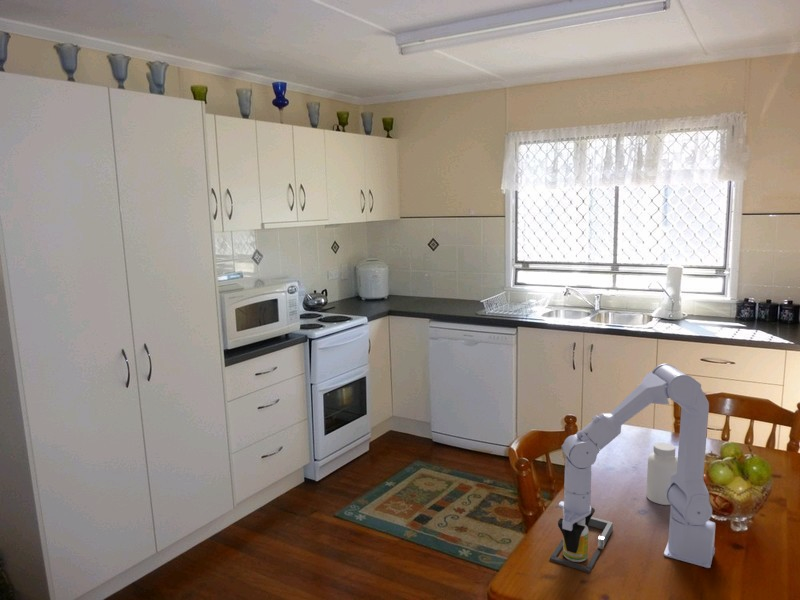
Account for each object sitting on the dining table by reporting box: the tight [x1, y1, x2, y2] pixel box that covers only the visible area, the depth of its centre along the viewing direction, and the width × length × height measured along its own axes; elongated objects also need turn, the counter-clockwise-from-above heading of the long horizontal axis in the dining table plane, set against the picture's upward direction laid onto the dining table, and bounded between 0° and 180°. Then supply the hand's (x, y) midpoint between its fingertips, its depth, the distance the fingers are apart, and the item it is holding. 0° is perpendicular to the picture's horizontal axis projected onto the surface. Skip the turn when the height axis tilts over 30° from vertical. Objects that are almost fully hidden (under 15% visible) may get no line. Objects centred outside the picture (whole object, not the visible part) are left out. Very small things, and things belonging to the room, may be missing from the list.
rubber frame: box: [549, 539, 601, 574], centre depth 137 cm, size 9×8×1 cm
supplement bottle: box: [562, 518, 589, 563], centre depth 137 cm, size 5×5×10 cm
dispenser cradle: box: [588, 516, 614, 550], centre depth 146 cm, size 9×10×2 cm
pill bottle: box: [645, 442, 678, 506], centre depth 161 cm, size 8×8×15 cm
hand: (575, 544), depth 137 cm, fingers open, 5 cm apart
